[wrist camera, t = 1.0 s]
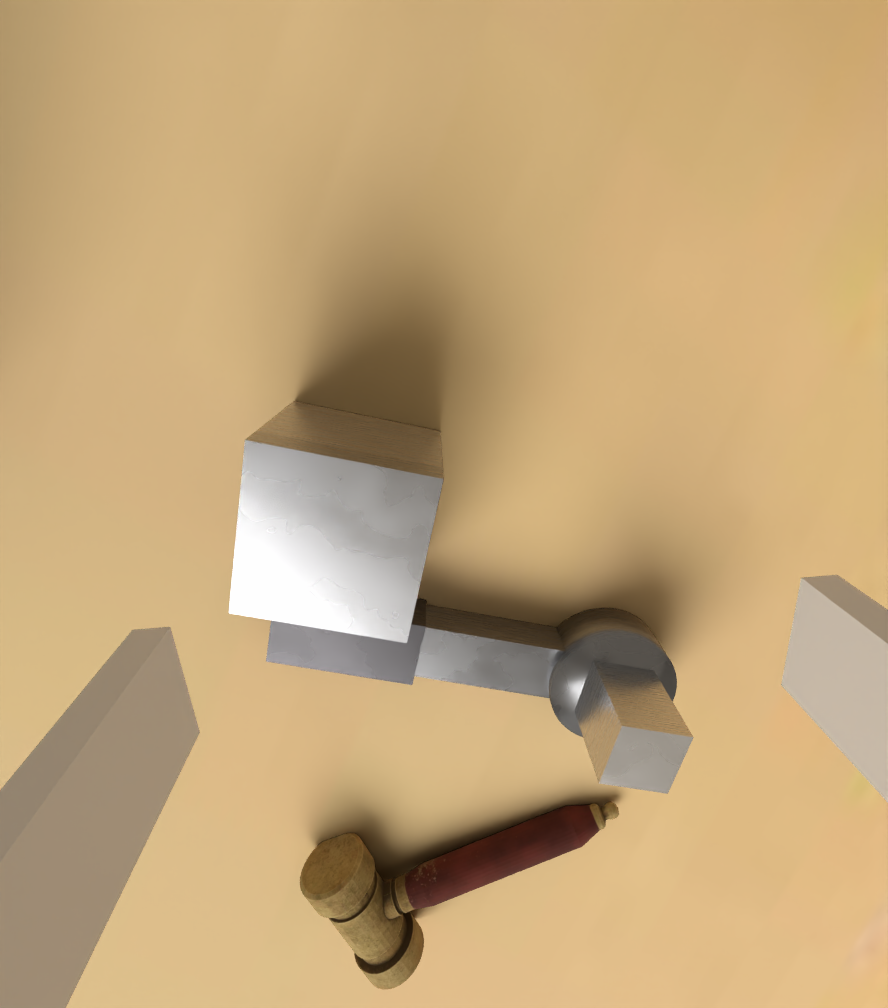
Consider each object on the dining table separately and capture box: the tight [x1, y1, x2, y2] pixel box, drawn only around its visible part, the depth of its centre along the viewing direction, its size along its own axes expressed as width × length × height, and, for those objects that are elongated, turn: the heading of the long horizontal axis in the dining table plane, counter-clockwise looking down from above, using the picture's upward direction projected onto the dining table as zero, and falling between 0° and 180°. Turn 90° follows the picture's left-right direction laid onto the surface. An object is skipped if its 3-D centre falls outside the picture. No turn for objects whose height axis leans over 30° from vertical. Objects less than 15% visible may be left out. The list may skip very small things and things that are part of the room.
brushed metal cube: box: [229, 401, 444, 643], centre depth 26 cm, size 8×8×8 cm
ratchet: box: [266, 598, 693, 794], centre depth 30 cm, size 22×7×8 cm, turn 78°
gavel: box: [300, 802, 619, 989], centre depth 38 cm, size 21×5×10 cm
